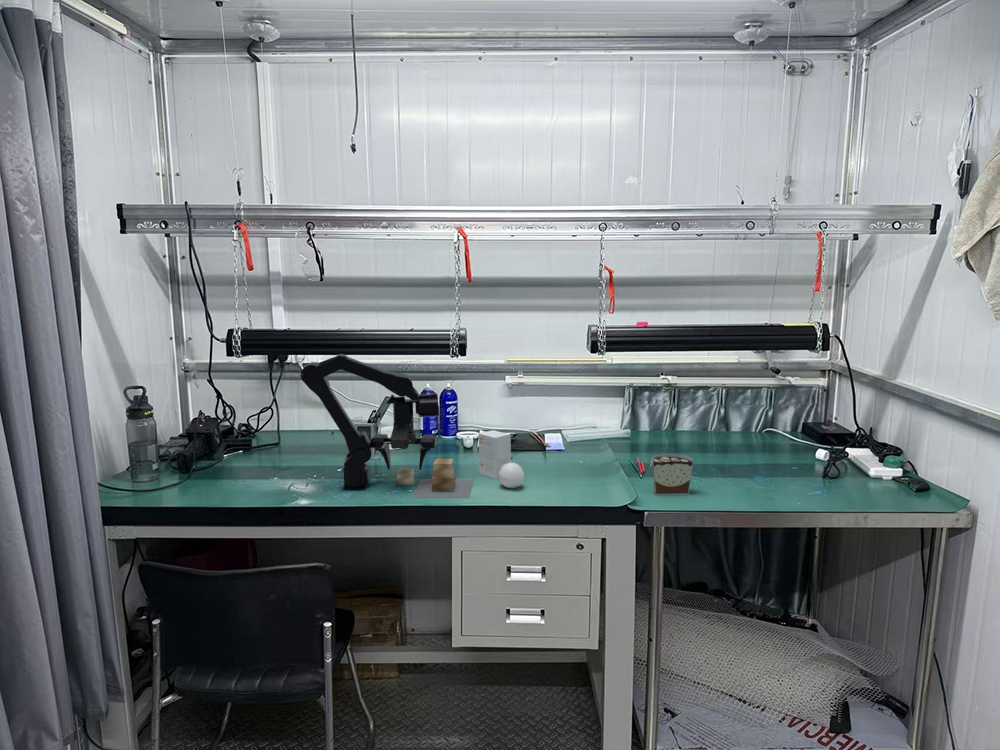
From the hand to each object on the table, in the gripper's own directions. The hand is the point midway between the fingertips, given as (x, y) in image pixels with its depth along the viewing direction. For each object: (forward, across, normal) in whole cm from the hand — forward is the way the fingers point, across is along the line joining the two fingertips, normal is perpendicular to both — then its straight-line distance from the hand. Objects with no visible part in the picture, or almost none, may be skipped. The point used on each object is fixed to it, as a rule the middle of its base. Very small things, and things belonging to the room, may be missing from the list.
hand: (404, 469), depth 186 cm
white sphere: (+4, +30, -3) cm, 31 cm away
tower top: (0, +12, -5) cm, 13 cm away
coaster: (+4, +12, -5) cm, 14 cm away
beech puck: (+4, 0, 0) cm, 4 cm away
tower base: (+4, +12, -5) cm, 14 cm away
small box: (+4, +26, +9) cm, 28 cm away
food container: (+4, +76, -5) cm, 76 cm away
